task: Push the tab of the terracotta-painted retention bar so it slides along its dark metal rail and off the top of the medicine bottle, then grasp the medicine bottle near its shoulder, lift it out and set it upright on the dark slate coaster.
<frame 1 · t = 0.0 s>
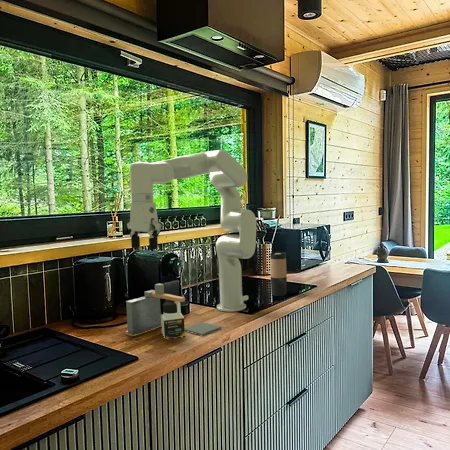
hand: (144, 248, 147), 31 cm above the worktop, fingers open, 9 cm apart
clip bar: (164, 291, 153), point 15 cm above the worktop, slide at 0.0 cm
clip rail: (145, 330, 156), on the worktop
medicine bottle: (173, 336, 150), on the worktop
travel mug: (279, 294, 205), on the worktop
slate coaster: (202, 329, 155), on the worktop
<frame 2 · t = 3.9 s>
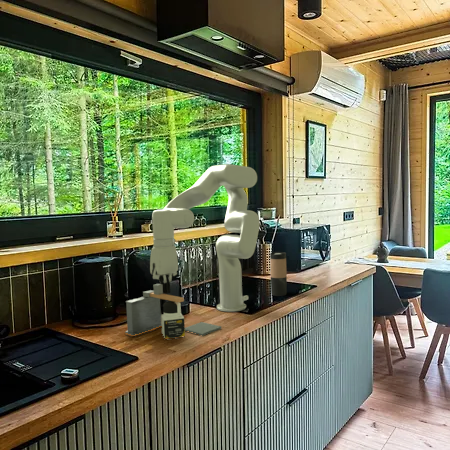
hand: (165, 292, 157), 13 cm above the worktop, fingers closed
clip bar: (163, 292, 152), point 15 cm above the worktop, slide at 0.6 cm, touching gripper
everything else where it was.
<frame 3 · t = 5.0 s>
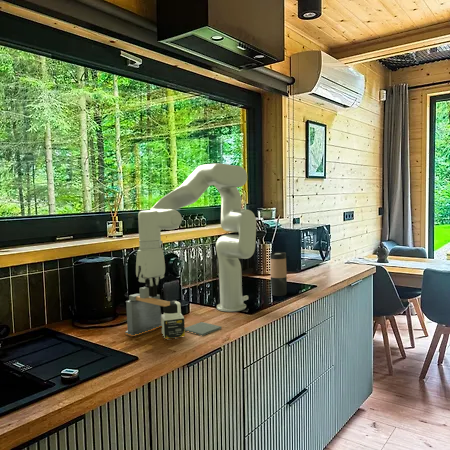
hand: (152, 296, 152), 13 cm above the worktop, fingers closed
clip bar: (149, 295, 147), point 15 cm above the worktop, slide at 6.9 cm, touching gripper
everything else where it was.
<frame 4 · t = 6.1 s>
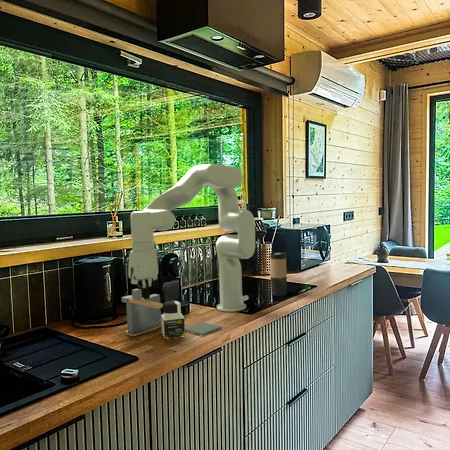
hand: (145, 298, 150), 13 cm above the worktop, fingers closed
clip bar: (142, 297, 145), point 15 cm above the worktop, slide at 10.1 cm, touching gripper
everything else where it was.
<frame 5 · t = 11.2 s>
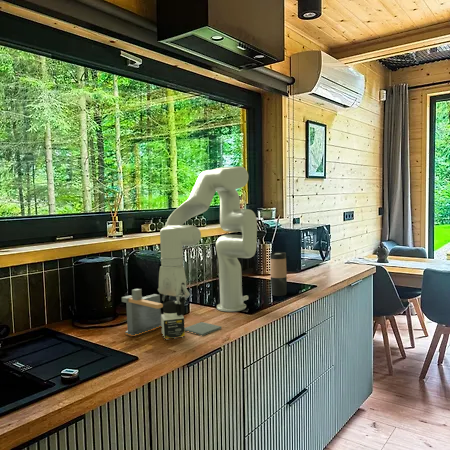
hand: (174, 312, 150), 8 cm above the worktop, fingers closed on medicine bottle, 6 cm apart
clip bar: (142, 297, 145), point 15 cm above the worktop, slide at 10.0 cm
medicine bottle: (173, 336, 150), on the worktop, touching gripper
everything else where it was.
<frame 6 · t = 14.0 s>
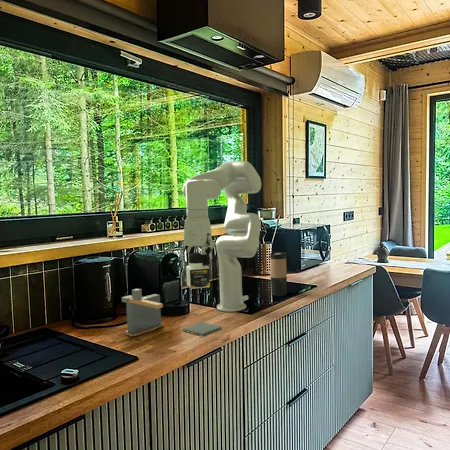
hand: (199, 263, 153), 24 cm above the worktop, fingers closed on medicine bottle, 6 cm apart
medicine bottle: (198, 286, 153), point 16 cm above the worktop, touching gripper
everything else where it was.
when the fingers open (10 cm above the worktop, at t = 17.2 s): medicine bottle stays where it is, resting on slate coaster.
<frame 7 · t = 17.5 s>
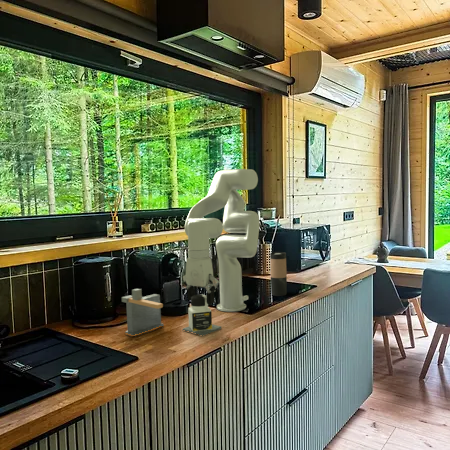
hand: (200, 301, 154), 11 cm above the worktop, fingers open, 9 cm apart
medicine bottle: (200, 328, 154), point 1 cm above the worktop, touching slate coaster
everything else where it was.
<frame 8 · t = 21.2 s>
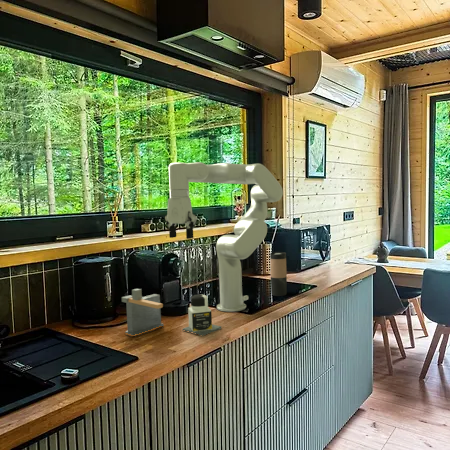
hand: (181, 237, 168), 32 cm above the worktop, fingers open, 9 cm apart
nothing on the worktop moved.
at the end: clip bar slide at 10.0 cm; medicine bottle inside the target area on the slate coaster (0.8 cm from its centre), point 0.6 cm above the slate coaster's base; medicine bottle tilted 0° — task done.
